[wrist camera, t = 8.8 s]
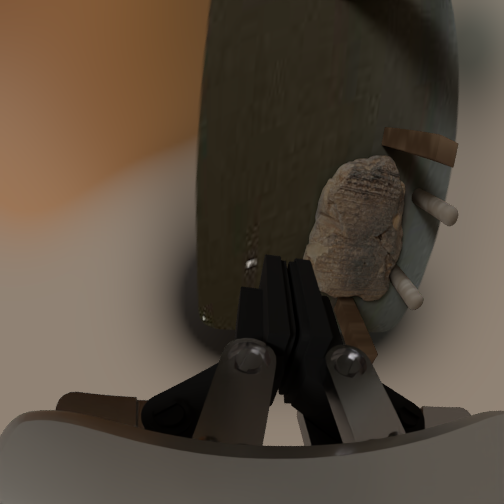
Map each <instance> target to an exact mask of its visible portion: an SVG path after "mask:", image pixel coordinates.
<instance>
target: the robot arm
mask: <svg viewBox="0 0 504 504" xmlns="http://www.w3.org/2000/svg"><path fill="white" fill-rule="evenodd" d="M277 390H279V394H280V395H284V403H291V405H292V406H293V407H294V408H296V409H297V410H298V411H297V419H298V422H299V426H300V430H301V434H302V438H303V442H304V446H262V444H263V439H264V434H265V429H266V423H267V417H268V411H269V407H270V406H271V405H272V403H273V401H274V398H275V396H276V393H277ZM0 504H504V411H489V412H483V413H479V414H475V415H472V416H471V415H470V413H469V412H468V411H467V410H465V409H464V408H460V407H427V406H426V407H425V406H422V407H421V408H419V407H418V406H416V405H415V404H414V403H412V402H411V401H409V400H408V399H406V398H404V397H403V396H401V395H400V394H398V393H397V392H395V391H394V390H392V389H390V388H389V387H387V386H386V385H384V384H383V383H381V381H380V379H379V377H378V375H377V373H376V371H375V369H374V367H373V365H372V363H371V361H370V359H369V358H368V356H367V355H366V354H365V353H364V352H363V351H361V350H360V349H358V348H356V347H354V346H350V345H343V342H342V339H341V335H340V332H339V329H338V325H337V322H336V319H335V316H334V312H333V309H332V306H331V303H330V300H329V298H328V297H327V296H321V293H320V290H319V287H318V283H317V280H316V277H315V273H314V270H313V267H312V264H311V261H310V260H304V259H297V258H296V259H295V260H294V262H289V264H288V268H287V266H286V261H282V260H281V257H280V256H273V255H265V258H264V263H263V269H262V275H261V280H260V286H259V289H256V288H248V287H241V291H240V298H239V305H238V313H237V322H236V332H235V340H234V341H231V342H230V343H229V344H228V345H226V347H225V348H224V350H223V352H222V355H221V358H220V360H219V363H217V364H215V365H213V366H212V367H210V368H208V369H206V370H204V371H202V372H201V373H199V374H197V375H195V376H193V377H191V378H189V379H187V380H185V381H184V382H182V383H180V384H178V385H176V386H174V387H172V388H170V389H168V390H166V391H164V392H162V393H160V394H158V395H156V396H154V397H152V398H151V399H149V400H137V398H136V397H125V396H111V395H100V394H91V393H83V392H70V393H68V394H65V395H63V396H62V397H61V398H60V399H59V401H58V404H57V406H56V410H40V411H31V412H27V413H23V414H21V415H19V416H18V417H16V418H15V419H14V420H12V421H11V422H10V423H9V425H8V426H7V427H6V428H5V430H4V431H3V433H2V434H1V436H0Z"/></svg>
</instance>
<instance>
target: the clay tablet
mask: <svg viewBox="0 0 504 504" xmlns="http://www.w3.org/2000/svg"><path fill="white" fill-rule="evenodd" d="M404 197H405V185H404V183H403V182H402V181H401V180H400V179H399V171H398V170H397V167H396V164H395V162H394V161H393V159H392V158H391V157H389V156H379V155H377V156H371V157H370V158H369V159H366V158H364V159H356V160H354V162H348V163H347V164H343V165H342V166H341V167H339V169H338V170H337V172H336V174H335V175H334V176H333V177H332V179H329V180H328V182H327V184H326V186H324V188H323V190H322V193H321V197H320V199H319V201H318V208H317V212H316V215H315V218H316V222H315V225H314V227H313V229H312V231H311V233H310V235H309V237H310V238H309V244H308V245H307V246H306V250H305V253H304V257H303V259H304V260H310V261H311V264H312V267H313V270H314V273H315V277H316V280H317V283H318V287H319V290H320V291H322V292H324V293H327V294H328V295H330V296H332V297H334V298H337V297H350V296H356V295H357V296H359V297H361V298H362V299H363V300H365V301H373V300H378V299H380V298H381V297H382V296H383V295H384V294H385V293H386V292H387V290H388V288H389V282H390V278H389V274H390V273H391V270H392V268H393V267H394V266H395V264H396V262H397V260H398V258H399V254H400V251H401V248H402V242H401V239H402V237H403V230H402V227H401V223H402V214H403V207H404Z"/></svg>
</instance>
